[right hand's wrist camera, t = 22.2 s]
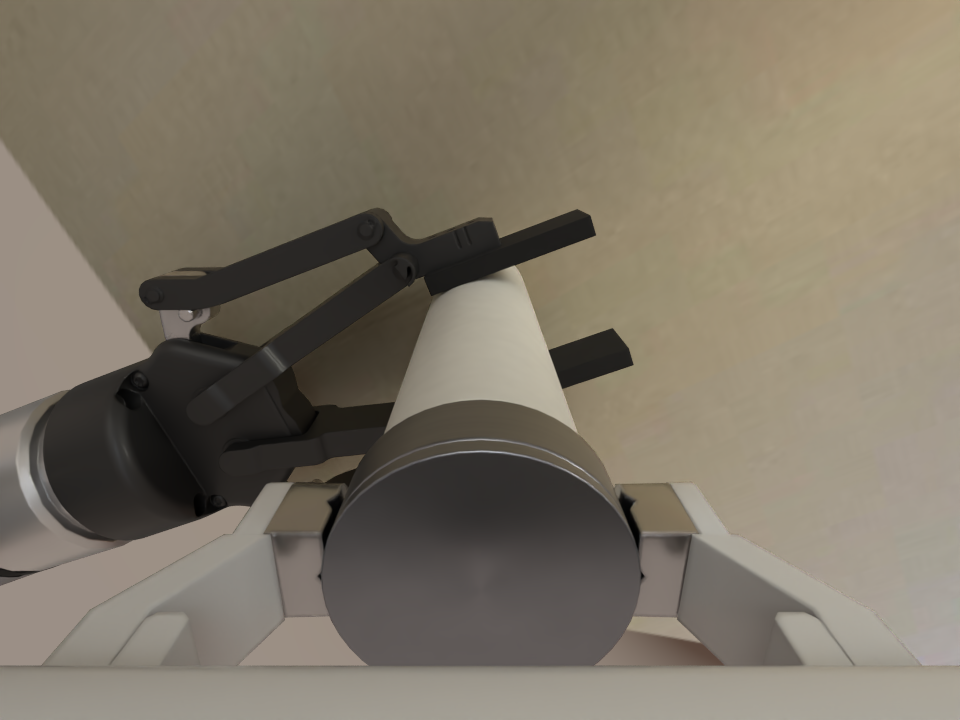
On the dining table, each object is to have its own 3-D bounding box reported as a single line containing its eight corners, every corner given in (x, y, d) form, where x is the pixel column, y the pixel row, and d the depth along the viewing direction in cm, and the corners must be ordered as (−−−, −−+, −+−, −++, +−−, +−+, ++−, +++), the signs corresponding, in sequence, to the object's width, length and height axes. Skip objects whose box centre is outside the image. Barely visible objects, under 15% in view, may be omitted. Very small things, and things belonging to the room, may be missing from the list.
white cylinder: (538, 267, 27) (658, 487, 9) (507, 348, 29) (554, 678, 10) (452, 237, 27) (387, 405, 8) (425, 321, 28) (322, 620, 10)
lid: (415, 647, 12) (404, 733, 10) (298, 455, 10) (259, 517, 8) (646, 576, 11) (678, 655, 9) (563, 355, 9) (582, 400, 7)
